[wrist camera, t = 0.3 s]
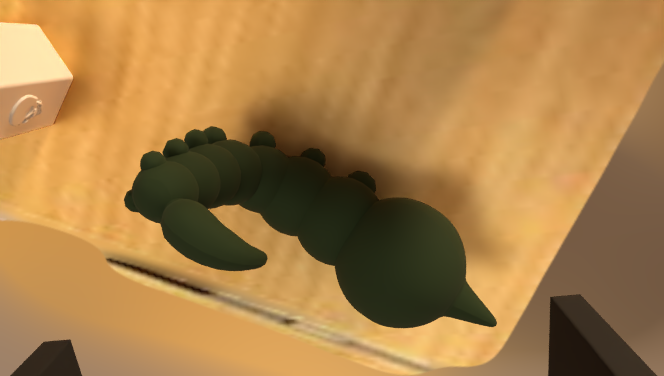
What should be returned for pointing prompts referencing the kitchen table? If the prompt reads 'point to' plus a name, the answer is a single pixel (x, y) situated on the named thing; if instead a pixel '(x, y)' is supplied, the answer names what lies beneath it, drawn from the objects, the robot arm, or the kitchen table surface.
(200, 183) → the toy figurine
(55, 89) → the jar
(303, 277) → the kitchen table surface
